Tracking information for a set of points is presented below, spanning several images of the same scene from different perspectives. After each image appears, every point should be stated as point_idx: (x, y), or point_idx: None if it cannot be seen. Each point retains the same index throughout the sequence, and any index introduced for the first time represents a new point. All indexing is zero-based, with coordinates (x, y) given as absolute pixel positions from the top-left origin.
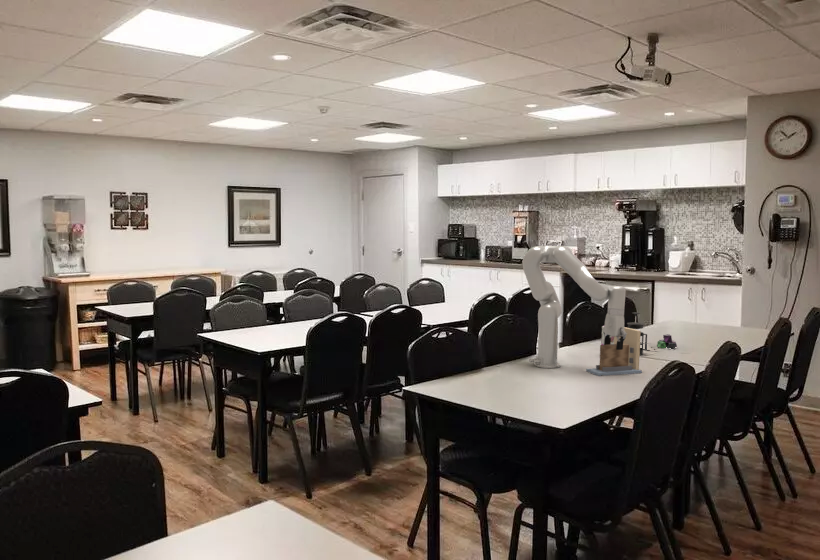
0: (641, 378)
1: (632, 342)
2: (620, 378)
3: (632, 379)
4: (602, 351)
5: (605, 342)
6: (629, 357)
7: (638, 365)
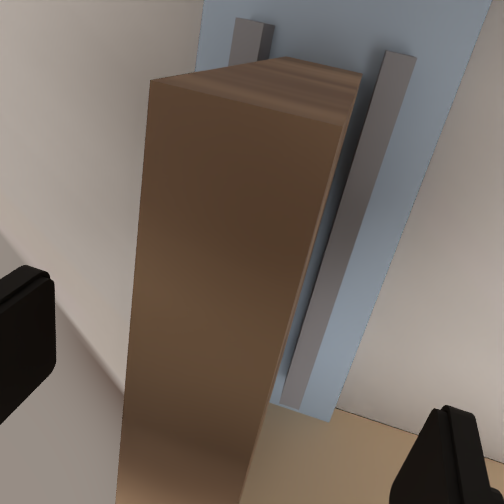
0: (18, 223)
1: None
2: (58, 52)
3: (2, 125)
4: (256, 80)
5: (443, 464)
6: (258, 484)
7: None
